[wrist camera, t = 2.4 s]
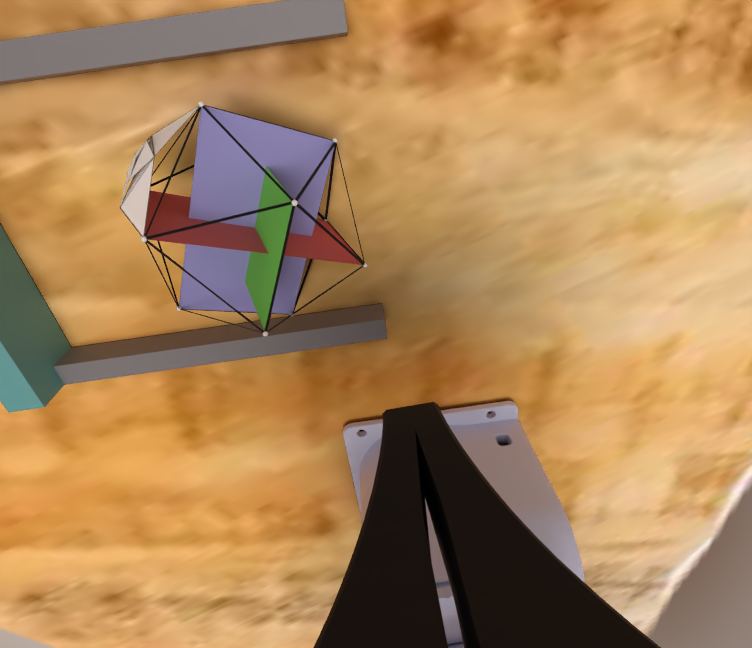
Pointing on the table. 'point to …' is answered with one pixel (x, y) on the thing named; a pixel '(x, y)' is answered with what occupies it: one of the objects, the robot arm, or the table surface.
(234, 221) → the geometric puzzle
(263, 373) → the table surface
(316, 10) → the u-shaped frame
